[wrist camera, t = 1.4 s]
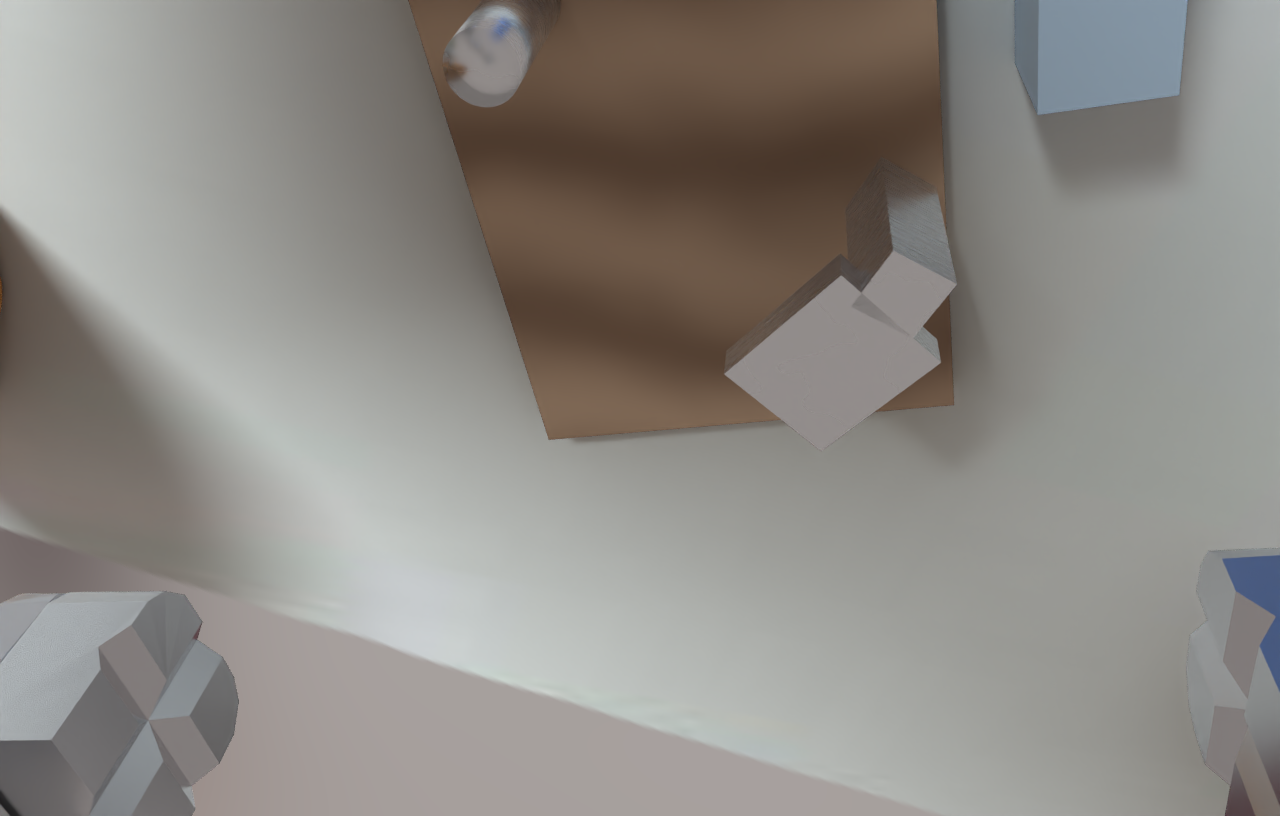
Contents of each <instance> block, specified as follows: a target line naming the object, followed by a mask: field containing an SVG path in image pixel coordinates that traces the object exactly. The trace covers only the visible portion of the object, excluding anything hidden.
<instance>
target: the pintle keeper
mask: <svg viewBox="0 0 1280 816" xmlns="http://www.w3.org/2000/svg"><path fill="white" fill-rule="evenodd" d="M559 14H560V0H482V1H481V2H480V4H479V5H478V6H477V7H476V9H475V10H474V11H473V12H472V14H471V15H470V16H469V17H468V19H467V20H466V21H465V23H464V24H463V25H462V26H461V28H460V29H459V30H458V31H457V33H456V34H455V35H454V36H453V38H452V39H451V40H450V41H449V43H448V44H447V46H446V48H445V51H444V54H443V72H444V75H445V78H446V80H447V82H448V84H449V86H450V87H451V89H452V90H453V91H454V92H455V94H457V95H458V96H459V97H460V98H461V99H463V100H464V101H466V102H468V103H470V104H472V105H475V106H479V107H494V106H498V105H501V104H503V103H505V102H506V101H508V100H509V99H510V98H511V97H512V96H513V95H514V93H515V92H516V90H517V89H518V87H519V85H520V83H521V82H522V80H523V78H524V77H525V75H526V73H527V71H528V70H529V68H530V66H531V64H532V63H533V61H534V59H535V58H536V56H537V54H538V52H539V51H540V49H541V47H542V46H543V44H544V42H545V40H546V39H547V37H548V35H549V34H550V32H551V30H552V28H553V27H554V25H555V23H556V21H557V19H558V17H559ZM845 215H846V232H847V249H848V260H847V259H846V258H845V257H844V256H843V255H841V254H839V255H838V256H837V257H836V258H834V259H833V260H832V261H831V262H830V263H829V264H827V265H826V266H825V267H824V268H823V269H822V270H820V271H819V272H818V273H817V274H816V275H815V276H813V277H812V278H811V279H810V280H809V281H808V282H806V283H805V284H804V285H803V286H802V287H801V288H799V289H798V290H797V291H796V292H795V293H794V294H792V295H791V296H790V297H789V298H788V299H787V300H785V301H784V302H783V303H782V304H781V305H780V306H778V307H777V308H776V309H775V310H774V311H773V312H771V313H770V314H769V315H768V316H767V317H766V318H764V319H763V320H762V321H761V322H760V323H759V324H757V325H756V326H755V327H754V328H753V329H752V330H750V331H749V332H748V333H747V334H746V335H745V336H743V337H742V338H741V339H740V340H739V341H738V342H736V343H735V344H734V345H733V346H732V347H731V348H729V349H728V350H727V351H726V360H725V370H724V374H725V375H726V376H727V377H728V378H730V379H731V380H732V381H733V382H735V383H736V384H737V385H738V386H740V387H741V388H742V389H743V390H745V391H746V392H747V393H748V394H750V395H751V396H752V397H753V398H755V399H756V400H757V401H758V402H760V403H761V404H762V405H763V406H765V407H766V408H767V409H768V410H770V411H771V412H772V413H774V414H775V415H776V416H777V417H779V418H780V419H781V420H782V421H784V422H785V423H786V424H787V425H789V426H790V427H791V428H792V429H794V430H795V431H796V432H797V433H799V434H800V435H801V436H802V437H804V438H805V439H806V440H807V441H809V442H810V443H811V444H812V445H814V446H815V447H816V448H818V449H819V450H820V451H822V450H823V449H825V448H826V447H827V446H829V445H830V444H832V443H833V442H834V441H836V440H837V439H838V438H840V437H841V436H842V435H844V434H845V433H846V432H848V431H849V430H851V429H852V428H853V427H855V426H856V425H857V424H859V423H860V422H861V421H863V420H864V419H865V418H867V417H868V416H870V415H871V414H872V413H874V412H875V411H876V410H878V409H879V408H880V407H882V406H883V405H884V404H886V403H887V402H889V401H890V400H891V399H893V398H894V397H895V396H897V395H898V394H899V393H901V392H902V391H903V390H905V389H906V388H907V387H909V386H910V385H912V384H913V383H914V382H916V381H917V380H918V379H920V378H921V377H922V376H924V375H925V374H926V373H928V372H929V371H931V370H932V369H933V368H935V367H936V366H937V365H939V364H940V363H941V359H940V353H939V348H938V342H937V339H936V338H935V337H934V336H933V335H932V334H931V333H930V332H928V331H927V330H926V329H925V328H924V327H923V325H924V324H925V323H926V322H927V320H928V319H929V318H930V317H931V316H932V314H933V313H934V312H935V311H936V309H937V308H938V307H939V306H940V305H941V303H942V302H943V301H944V300H945V298H946V297H947V296H948V295H949V294H950V292H951V291H952V290H953V289H954V287H955V286H956V285H957V282H956V277H955V272H954V268H953V263H952V258H951V253H950V249H949V244H948V239H947V235H946V230H945V225H944V221H943V216H942V211H941V207H940V202H939V197H938V193H937V188H936V186H934V185H932V184H930V183H928V182H926V181H924V180H923V179H921V178H919V177H917V176H915V175H913V174H912V173H910V172H908V171H906V170H904V169H902V168H901V167H899V166H897V165H895V164H893V163H891V162H890V161H888V160H886V159H884V158H882V157H881V158H880V159H879V161H878V162H877V164H876V165H875V167H874V168H873V169H872V171H871V172H870V174H869V175H868V177H867V178H866V180H865V181H864V182H863V184H862V185H861V187H860V188H859V190H858V191H857V192H856V194H855V195H854V197H853V198H852V200H851V201H850V202H849V204H848V205H847V207H846V208H845Z"/></svg>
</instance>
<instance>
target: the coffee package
mask: <svg viewBox="0 0 1280 816" xmlns="http://www.w3.org/2000/svg"><path fill="white" fill-rule="evenodd" d="M1 306H2V281H1V277H0V312H1Z"/></svg>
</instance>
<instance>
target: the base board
mask: <svg viewBox="0 0 1280 816" xmlns="http://www.w3.org/2000/svg"><path fill="white" fill-rule="evenodd" d="M408 1H409V4H410V7H411V10H412V13H413V16H414V20H415V23H416V26H417V29H418V32H419V35H420V38H421V42H422V45H423V48H424V51H425V54H426V57H427V60H428V63H429V67H430V70H431V73H432V76H433V79H434V82H435V85H436V88H437V92H438V95H439V98H440V101H441V104H442V107H443V110H444V113H445V117H446V120H447V123H448V126H449V129H450V132H451V135H452V138H453V142H454V145H455V148H456V151H457V154H458V157H459V160H460V163H461V167H462V170H463V173H464V176H465V179H466V182H467V185H468V188H469V192H470V195H471V198H472V201H473V204H474V207H475V210H476V213H477V217H478V220H479V223H480V226H481V229H482V232H483V235H484V238H485V242H486V245H487V248H488V251H489V254H490V257H491V260H492V263H493V267H494V270H495V273H496V276H497V279H498V282H499V285H500V288H501V292H502V295H503V298H504V301H505V304H506V307H507V310H508V314H509V317H510V320H511V323H512V326H513V329H514V332H515V335H516V339H517V342H518V345H519V348H520V351H521V354H522V357H523V360H524V364H525V367H526V370H527V373H528V376H529V379H530V382H531V385H532V389H533V392H534V395H535V398H536V401H537V404H538V407H539V410H540V414H541V417H542V420H543V423H544V426H545V429H546V432H547V435H548V439H549V440H551V439H563V438H575V437H586V436H598V435H610V434H621V433H633V432H645V431H656V430H668V429H680V428H691V427H703V426H715V425H726V424H738V423H750V422H761V421H773V420H781V419H780V418H779V417H777V416H776V415H775V414H774V413H772V412H771V411H770V410H768V409H767V408H766V407H765V406H763V405H762V404H761V403H760V402H758V401H757V400H756V399H755V398H753V397H752V396H751V395H750V394H748V393H747V392H746V391H745V390H743V389H742V388H741V387H740V386H738V385H737V384H736V383H735V382H733V381H732V380H731V379H730V378H728V377H727V376H726V375H725V374H724V370H725V360H726V351H727V350H728V349H729V348H731V347H732V346H733V345H734V344H735V343H736V342H738V341H739V340H740V339H741V338H742V337H743V336H745V335H746V334H747V333H748V332H749V331H750V330H752V329H753V328H754V327H755V326H756V325H757V324H759V323H760V322H761V321H762V320H763V319H764V318H766V317H767V316H768V315H769V314H770V313H771V312H773V311H774V310H775V309H776V308H777V307H778V306H780V305H781V304H782V303H783V302H784V301H785V300H787V299H788V298H789V297H790V296H791V295H792V294H794V293H795V292H796V291H797V290H798V289H799V288H801V287H802V286H803V285H804V284H805V283H806V282H808V281H809V280H810V279H811V278H812V277H813V276H815V275H816V274H817V273H818V272H819V271H820V270H822V269H823V268H824V267H825V266H826V265H827V264H829V263H830V262H831V261H832V260H833V259H834V258H836V257H837V256H838V255H839V254H841V255H843V256H844V257H845V258H846V259H847V260H848V249H847V232H846V215H845V208H846V207H847V205H848V204H849V202H850V201H851V200H852V198H853V197H854V195H855V194H856V192H857V191H858V190H859V188H860V187H861V185H862V184H863V182H864V181H865V180H866V178H867V177H868V175H869V174H870V172H871V171H872V169H873V168H874V167H875V165H876V164H877V162H878V161H879V159H880V158H881V157H882V158H884V159H886V160H888V161H890V162H891V163H893V164H895V165H897V166H899V167H901V168H902V169H904V170H906V171H908V172H910V173H912V174H913V175H915V176H917V177H919V178H921V179H923V180H924V181H926V182H928V183H930V184H932V185H934V186H936V188H937V193H938V197H939V202H940V207H941V211H942V216H943V221H944V225H945V230H946V208H945V185H944V162H943V139H942V116H941V93H940V70H939V46H938V23H937V0H560V14H559V17H558V19H557V21H556V23H555V25H554V27H553V28H552V30H551V32H550V34H549V35H548V37H547V39H546V40H545V42H544V44H543V46H542V47H541V49H540V51H539V52H538V54H537V56H536V58H535V59H534V61H533V63H532V64H531V66H530V68H529V70H528V71H527V73H526V75H525V77H524V78H523V80H522V82H521V83H520V85H519V87H518V89H517V90H516V92H515V93H514V95H513V96H512V97H511V98H510V99H509V100H508V101H506V102H505V103H503V104H501V105H498V106H494V107H479V106H475V105H472V104H470V103H468V102H466V101H464V100H463V99H461V98H460V97H459V96H458V95H457V94H455V92H454V91H453V90H452V89H451V87H450V86H449V84H448V82H447V80H446V78H445V75H444V72H443V54H444V51H445V48H446V46H447V44H448V43H449V41H450V40H451V39H452V38H453V36H454V35H455V34H456V33H457V31H458V30H459V29H460V28H461V26H462V25H463V24H464V23H465V21H466V20H467V19H468V17H469V16H470V15H471V14H472V12H473V11H474V10H475V9H476V7H477V6H478V5H479V4H480V2H481V1H482V0H408ZM946 235H947V232H946ZM923 327H924V328H925V329H926V330H927V331H928V332H930V333H931V334H932V335H933V336H934V337H935V338H936V339H937V342H938V348H939V353H940V359H941V363H940V364H939V365H937V366H936V367H935V368H933V369H932V370H931V371H929V372H928V373H926V374H925V375H924V376H922V377H921V378H920V379H918V380H917V381H916V382H914V383H913V384H912V385H910V386H909V387H907V388H906V389H905V390H903V391H902V392H901V393H899V394H898V395H897V396H895V397H894V398H893V399H891V400H890V401H889V402H887V403H886V404H884V405H883V406H882V407H880V408H879V409H878V410H876V411H875V412H878V411H890V410H901V409H913V408H925V407H936V406H948V405H954V394H953V370H952V347H951V324H950V301H949V295H948V296H947V297H946V298H945V300H944V301H943V302H942V303H941V305H940V306H939V307H938V308H937V309H936V311H935V312H934V313H933V314H932V316H931V317H930V318H929V319H928V320H927V322H926V323H925V324H924V325H923Z"/></svg>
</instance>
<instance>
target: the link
mask: <svg viewBox="0 0 1280 816" xmlns="http://www.w3.org/2000/svg"><path fill="white" fill-rule="evenodd" d="M1187 3H1188V0H1015V64H1016V67H1017V69H1018V71H1019V74H1020V76H1021V78H1022V81H1023V83H1024V85H1025V87H1026V90H1027V92H1028V94H1029V97H1030V99H1031V101H1032V103H1033V106H1034V108H1035V110H1036V113H1037V115H1042V114H1049V113H1056V112H1063V111H1071V110H1078V109H1085V108H1092V107H1099V106H1106V105H1113V104H1120V103H1128V102H1135V101H1142V100H1149V99H1156V98H1163V97H1170V96H1178V95H1179V94H1180V83H1181V71H1182V60H1183V49H1184V37H1185V26H1186V15H1187Z"/></svg>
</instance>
